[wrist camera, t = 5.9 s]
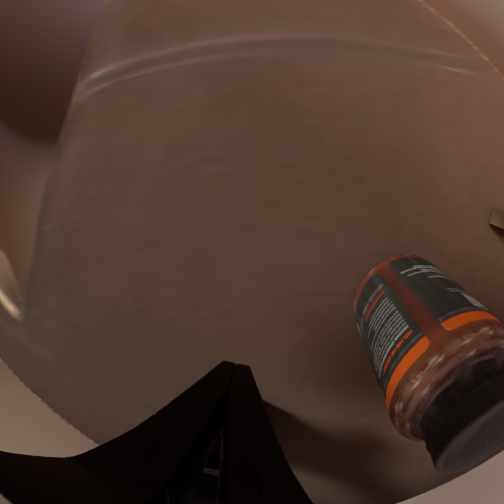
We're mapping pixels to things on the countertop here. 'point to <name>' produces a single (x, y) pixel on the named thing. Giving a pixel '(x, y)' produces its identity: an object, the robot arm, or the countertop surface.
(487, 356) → the supplement bottle
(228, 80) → the countertop surface
